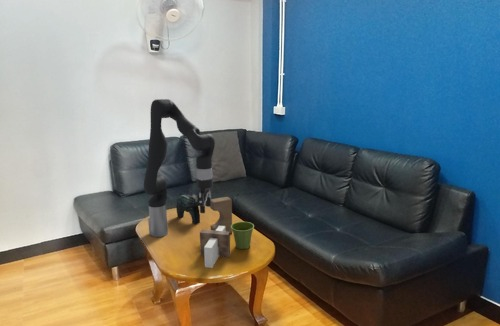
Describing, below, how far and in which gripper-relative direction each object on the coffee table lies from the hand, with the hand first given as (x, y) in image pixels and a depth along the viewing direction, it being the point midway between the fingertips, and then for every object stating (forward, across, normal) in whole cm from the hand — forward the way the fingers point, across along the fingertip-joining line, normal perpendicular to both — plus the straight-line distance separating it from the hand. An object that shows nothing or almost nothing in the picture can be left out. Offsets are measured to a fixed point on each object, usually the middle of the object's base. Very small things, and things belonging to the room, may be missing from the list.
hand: (205, 209), depth 164 cm
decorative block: (+24, -24, +1) cm, 34 cm away
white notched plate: (+23, 0, +5) cm, 24 cm away
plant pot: (+23, -11, +16) cm, 30 cm away
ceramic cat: (+24, -38, -24) cm, 51 cm away
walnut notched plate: (+23, 0, +4) cm, 24 cm away
